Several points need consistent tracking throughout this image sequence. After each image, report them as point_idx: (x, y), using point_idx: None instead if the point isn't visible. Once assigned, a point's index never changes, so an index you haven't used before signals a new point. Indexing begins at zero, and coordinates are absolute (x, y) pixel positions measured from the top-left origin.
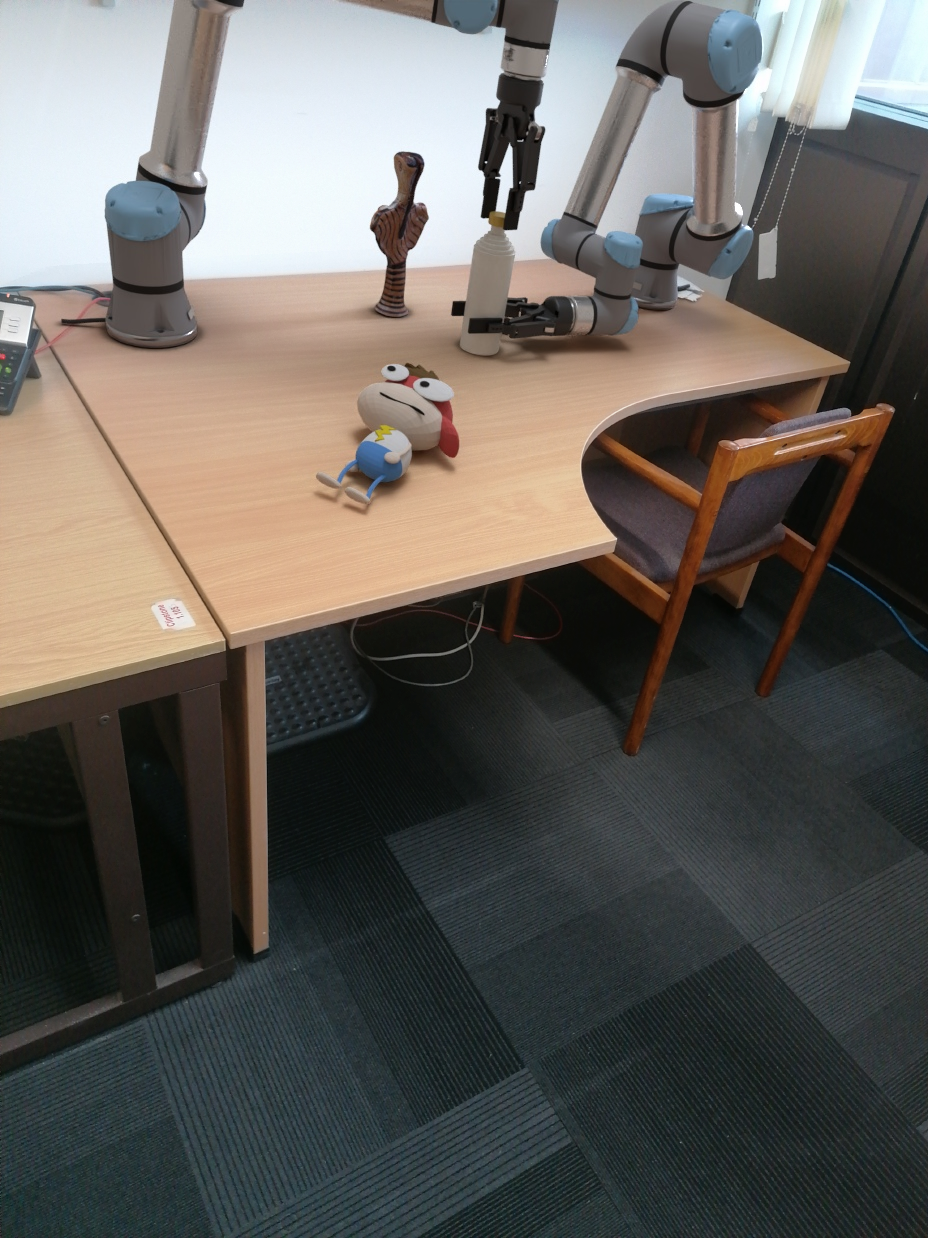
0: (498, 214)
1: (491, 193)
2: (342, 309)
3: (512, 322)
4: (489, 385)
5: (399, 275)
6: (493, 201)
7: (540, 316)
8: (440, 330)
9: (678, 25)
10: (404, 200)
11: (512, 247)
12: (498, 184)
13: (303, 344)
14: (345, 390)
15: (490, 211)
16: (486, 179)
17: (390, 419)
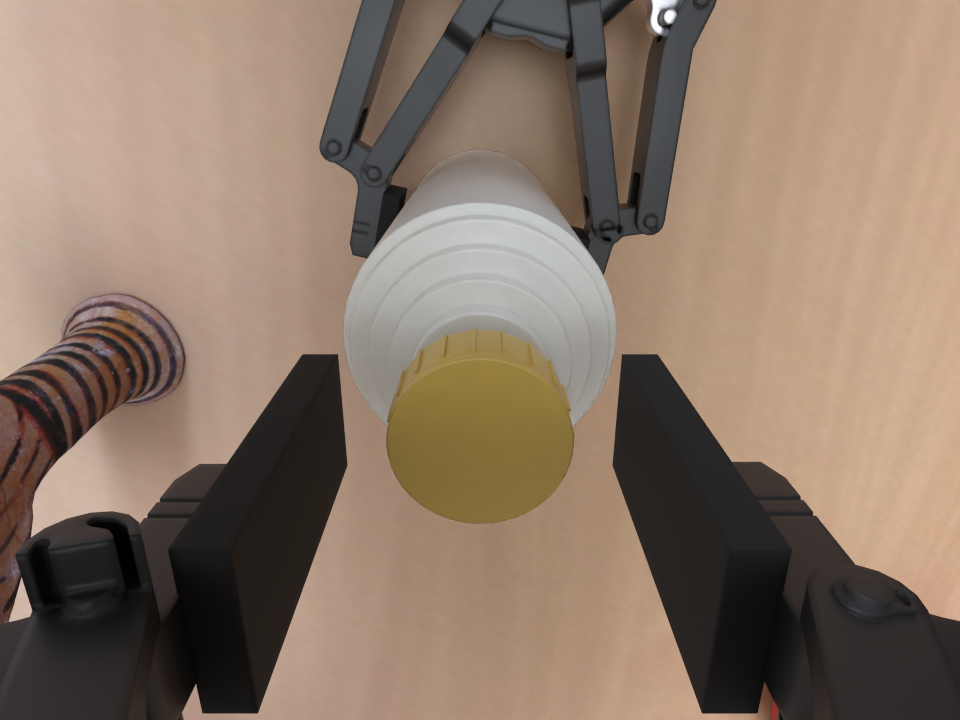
0: (480, 461)
1: (298, 542)
2: (103, 489)
3: (617, 202)
4: (731, 367)
5: (82, 410)
6: (310, 457)
7: (611, 5)
8: (312, 274)
9: None
10: None
11: (550, 255)
12: (257, 529)
13: (333, 673)
14: (595, 694)
15: (331, 428)
16: (217, 703)
17: None
